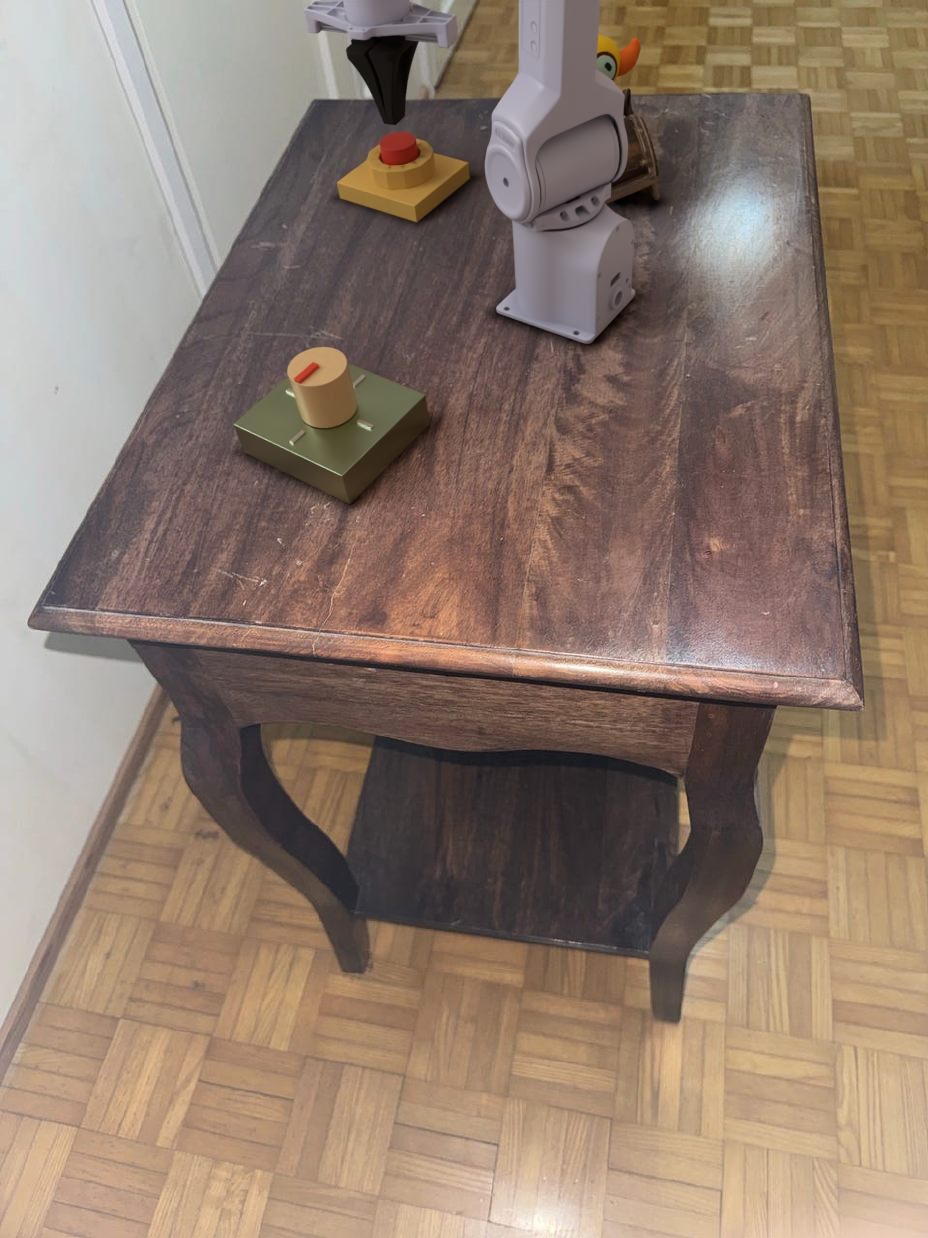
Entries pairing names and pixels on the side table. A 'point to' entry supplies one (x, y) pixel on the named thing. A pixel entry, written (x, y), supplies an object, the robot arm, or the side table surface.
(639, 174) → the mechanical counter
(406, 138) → the button
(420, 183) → the housing
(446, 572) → the side table surface
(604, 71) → the duckling
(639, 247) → the side table surface
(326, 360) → the knob
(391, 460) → the panel
